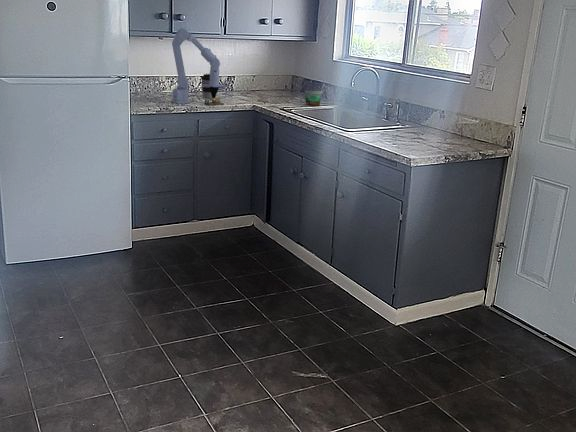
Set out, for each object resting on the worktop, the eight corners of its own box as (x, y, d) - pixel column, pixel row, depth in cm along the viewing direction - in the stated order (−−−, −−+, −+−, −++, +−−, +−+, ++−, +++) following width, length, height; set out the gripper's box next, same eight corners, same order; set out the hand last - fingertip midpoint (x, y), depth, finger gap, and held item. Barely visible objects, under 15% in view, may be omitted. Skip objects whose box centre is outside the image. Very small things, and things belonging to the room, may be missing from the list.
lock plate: (209, 105, 395) (209, 100, 394) (204, 104, 399) (204, 98, 398) (223, 104, 402) (224, 99, 401) (218, 103, 406) (219, 97, 405)
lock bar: (213, 102, 399) (213, 98, 398) (211, 101, 401) (211, 97, 400) (220, 101, 403) (220, 97, 402) (218, 101, 404) (218, 97, 403)
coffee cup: (205, 99, 417) (206, 75, 412) (197, 96, 424) (198, 73, 419) (218, 98, 423) (219, 75, 418) (210, 96, 430) (211, 73, 425)
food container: (306, 106, 419) (307, 90, 415) (303, 104, 424) (304, 89, 421) (324, 106, 422) (325, 91, 419) (321, 105, 427) (322, 90, 424)
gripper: (201, 77, 395) (201, 99, 400) (225, 79, 395) (224, 101, 399) (203, 76, 402) (203, 97, 407) (226, 77, 401) (226, 99, 406)
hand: (213, 99), depth 403 cm, fingers closed
